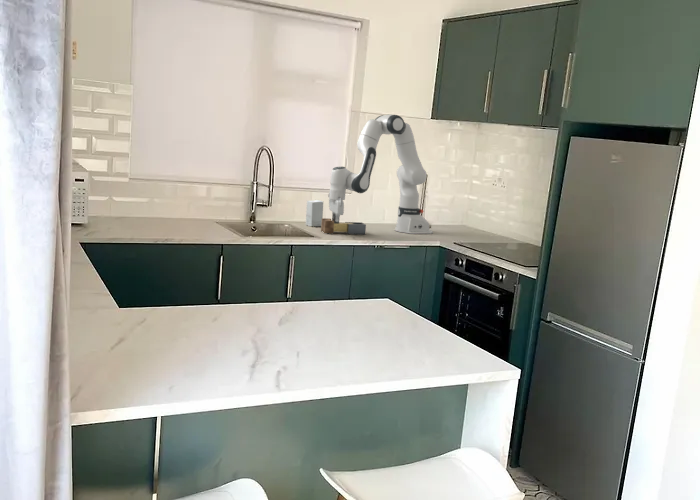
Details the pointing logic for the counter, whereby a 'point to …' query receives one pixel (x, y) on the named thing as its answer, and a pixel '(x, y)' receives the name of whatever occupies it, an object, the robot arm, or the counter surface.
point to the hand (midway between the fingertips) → (335, 220)
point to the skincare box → (314, 213)
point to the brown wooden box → (327, 225)
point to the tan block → (339, 225)
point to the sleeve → (356, 228)
